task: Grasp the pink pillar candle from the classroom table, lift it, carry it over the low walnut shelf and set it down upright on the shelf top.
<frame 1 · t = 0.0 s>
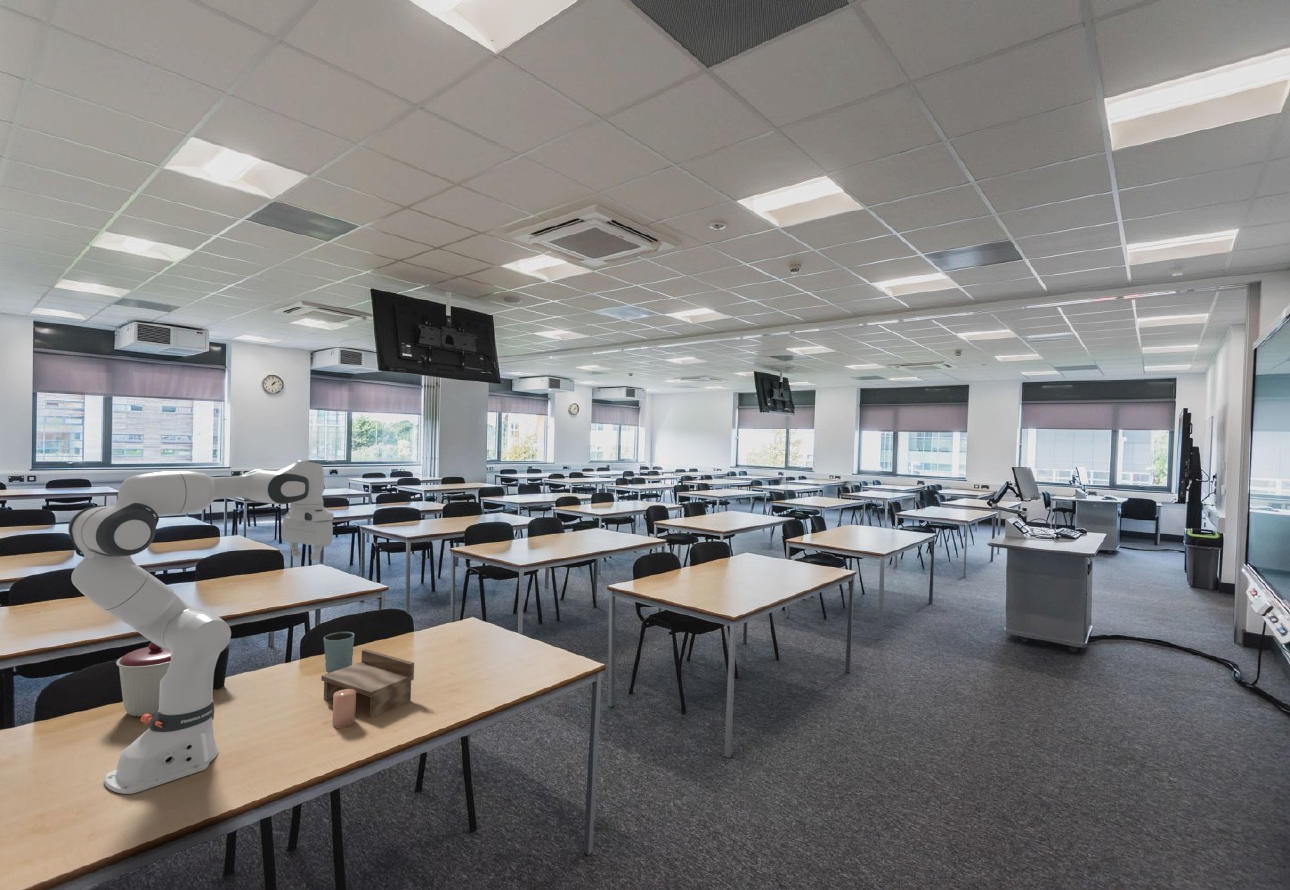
hand: (305, 557, 181), 48 cm above the table, fingers open, 8 cm apart
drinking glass: (338, 668, 218), on the table
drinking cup: (215, 688, 198), on the table
canister: (153, 710, 181), on the table
shelf: (367, 699, 193), on the table
pink pillar candle: (343, 723, 177), on the table
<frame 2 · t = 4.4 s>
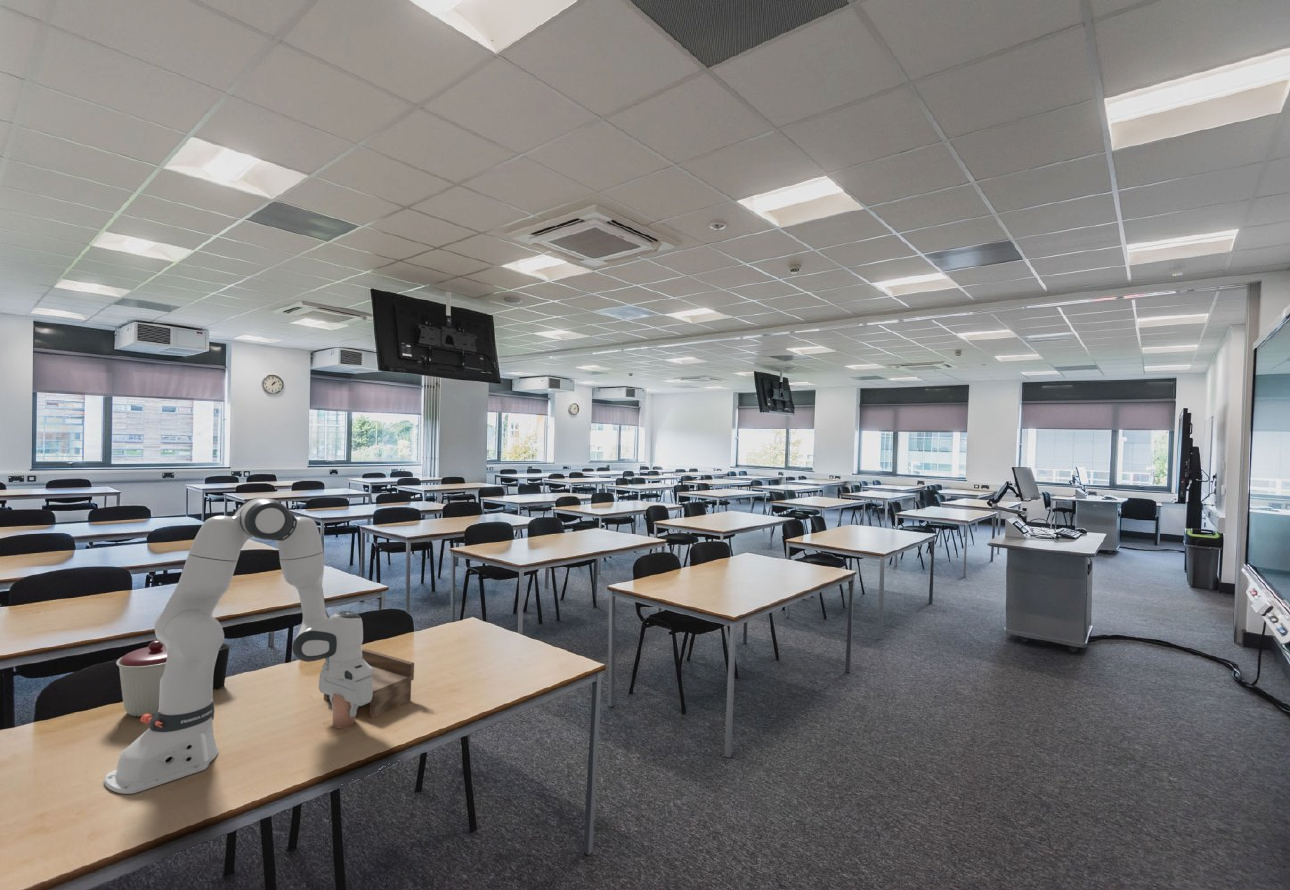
hand: (344, 712, 177), 3 cm above the table, fingers closed on pink pillar candle, 6 cm apart
pink pillar candle: (343, 723, 177), on the table, touching gripper
everything else where it was.
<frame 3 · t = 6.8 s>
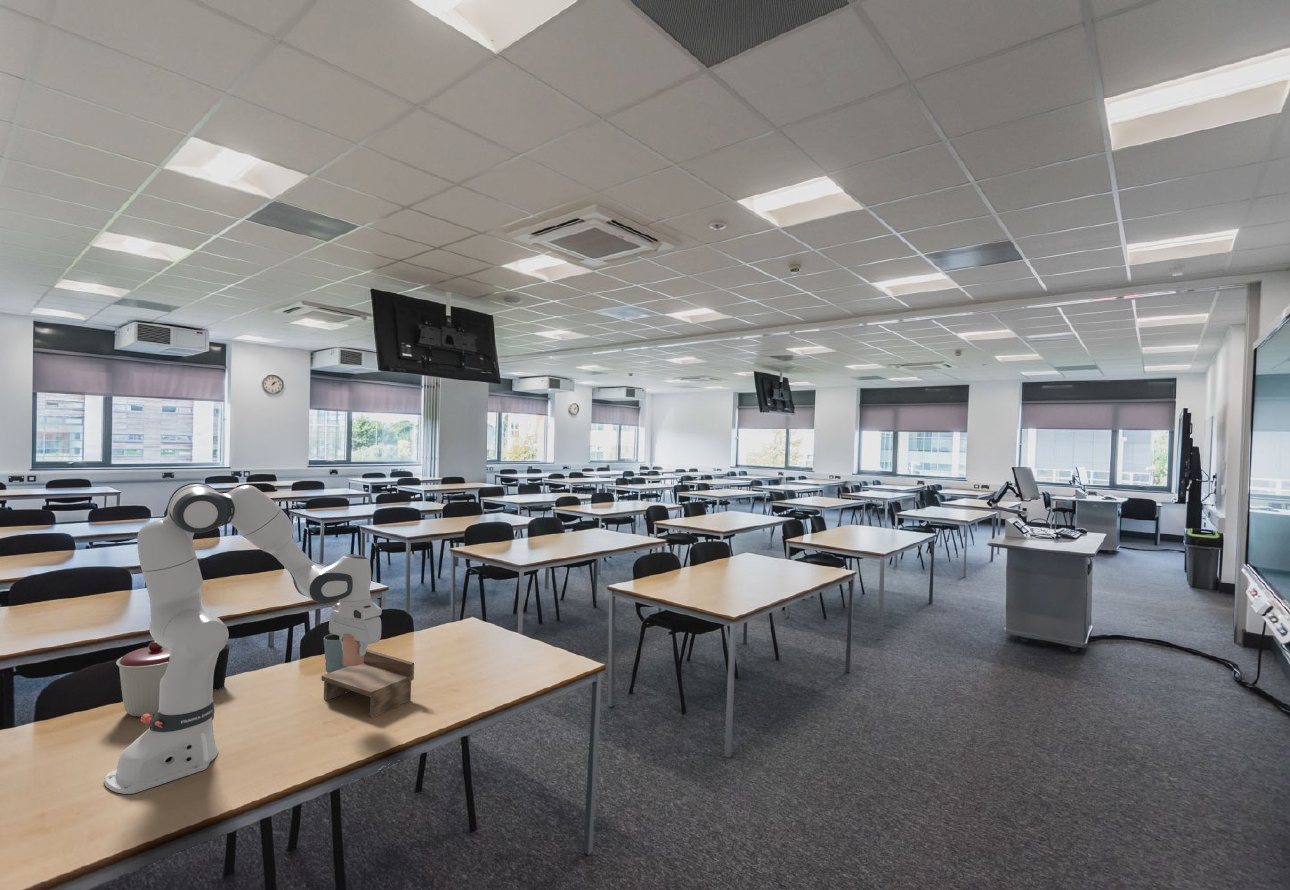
hand: (353, 652, 181), 20 cm above the table, fingers closed on pink pillar candle, 6 cm apart
pink pillar candle: (353, 662, 181), point 17 cm above the table, touching gripper
everything else where it was.
when the fingers open (13 cm above the table, at t = 9.6 s): pink pillar candle drops 1 cm, resting on shelf.
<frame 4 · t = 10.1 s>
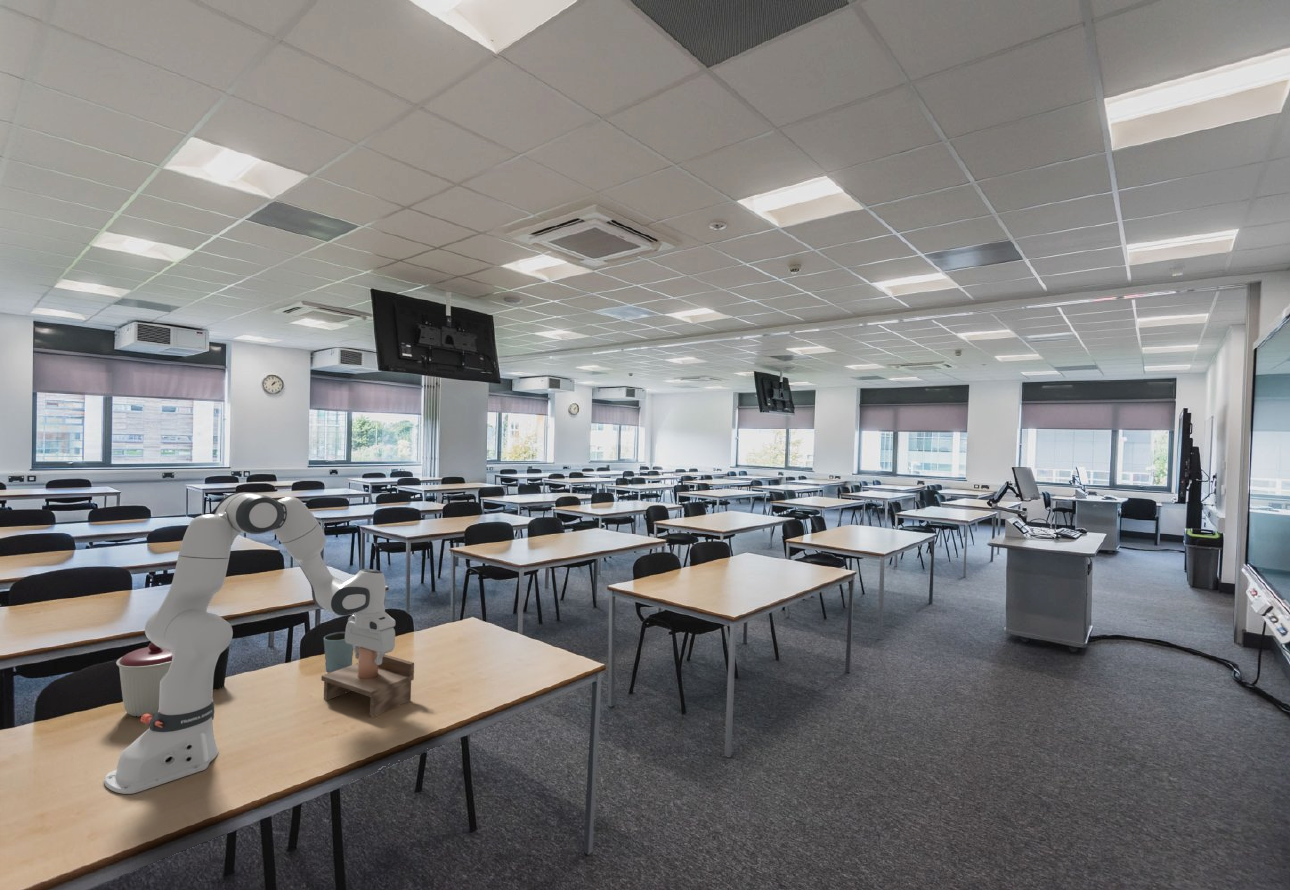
hand: (368, 661, 193), 13 cm above the table, fingers open, 8 cm apart
pink pillar candle: (368, 675, 193), point 8 cm above the table, touching shelf
everything else where it was.
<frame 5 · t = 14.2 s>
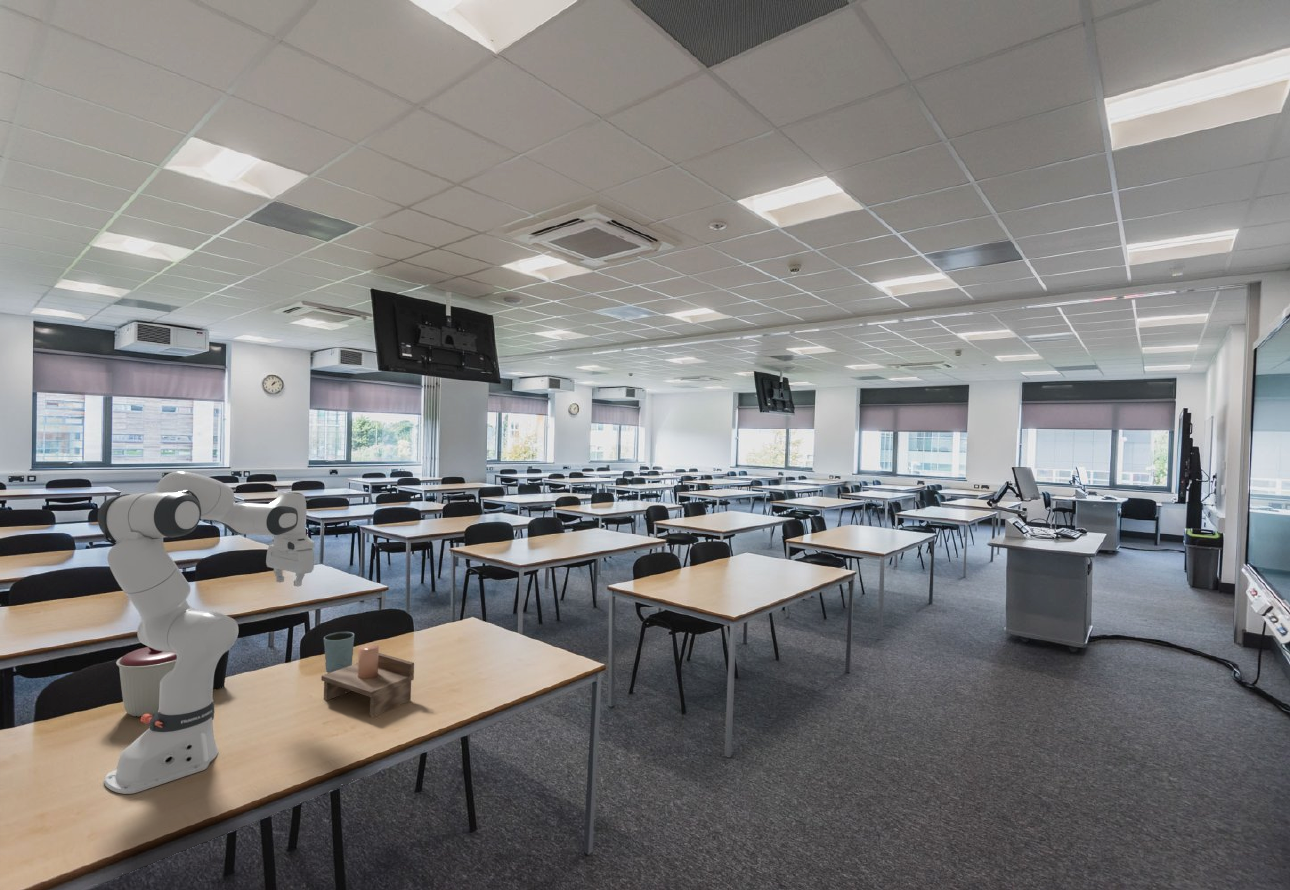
hand: (288, 583, 192), 37 cm above the table, fingers open, 8 cm apart
nothing on the table moved.
at the end: pink pillar candle inside the target area on the shelf (0.0 cm from its centre), point 8.0 cm above the shelf's base; pink pillar candle tilted 1°; the gripper is holding nothing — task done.
